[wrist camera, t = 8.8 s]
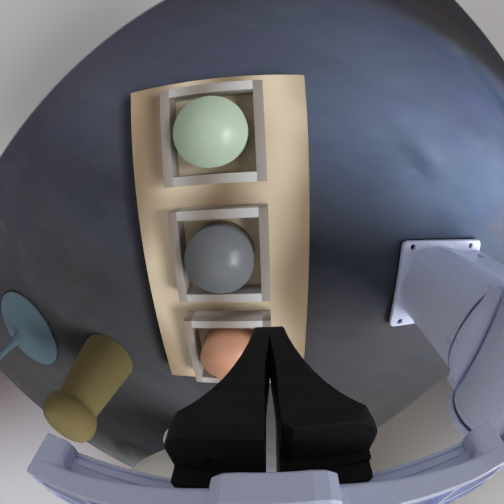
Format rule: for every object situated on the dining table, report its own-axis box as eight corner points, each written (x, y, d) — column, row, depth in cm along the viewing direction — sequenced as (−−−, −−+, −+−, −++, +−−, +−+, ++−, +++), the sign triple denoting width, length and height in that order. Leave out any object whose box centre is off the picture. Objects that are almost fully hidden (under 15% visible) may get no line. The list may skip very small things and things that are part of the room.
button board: (301, 80, 17) (307, 68, 14) (300, 365, 24) (304, 387, 22) (139, 96, 17) (121, 89, 14) (176, 364, 25) (168, 385, 22)
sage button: (247, 99, 16) (245, 92, 14) (250, 164, 17) (249, 165, 15) (180, 106, 16) (171, 100, 14) (184, 169, 18) (175, 171, 16)
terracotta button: (257, 322, 21) (257, 337, 19) (259, 364, 22) (259, 380, 21) (201, 322, 21) (196, 337, 19) (208, 364, 23) (204, 379, 21)
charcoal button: (253, 219, 18) (252, 226, 17) (255, 280, 20) (255, 293, 18) (188, 222, 19) (180, 229, 17) (195, 281, 20) (189, 293, 18)
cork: (76, 338, 25) (23, 403, 14) (113, 330, 24) (57, 407, 14) (104, 379, 27) (65, 447, 16) (143, 375, 26) (105, 455, 15)
